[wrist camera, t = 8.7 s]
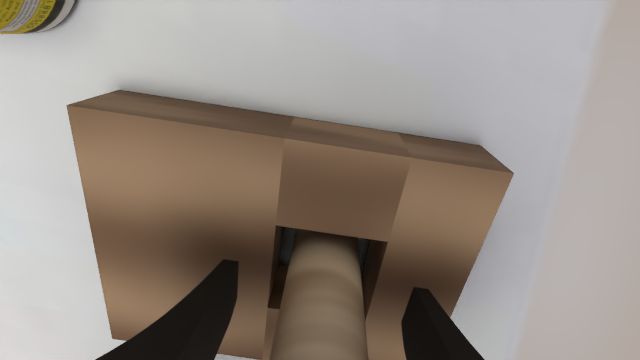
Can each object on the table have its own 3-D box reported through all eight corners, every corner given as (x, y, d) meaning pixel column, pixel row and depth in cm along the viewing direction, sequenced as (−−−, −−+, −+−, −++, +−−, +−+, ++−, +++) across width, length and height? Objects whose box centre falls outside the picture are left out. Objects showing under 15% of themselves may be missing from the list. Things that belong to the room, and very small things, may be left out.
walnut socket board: (409, 332, 20) (421, 382, 17) (144, 294, 19) (112, 338, 17) (480, 145, 14) (513, 173, 12) (118, 90, 14) (66, 105, 11)
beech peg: (351, 264, 18) (362, 470, 9) (292, 256, 18) (252, 455, 9) (362, 214, 16) (387, 405, 8) (299, 205, 16) (259, 387, 8)
